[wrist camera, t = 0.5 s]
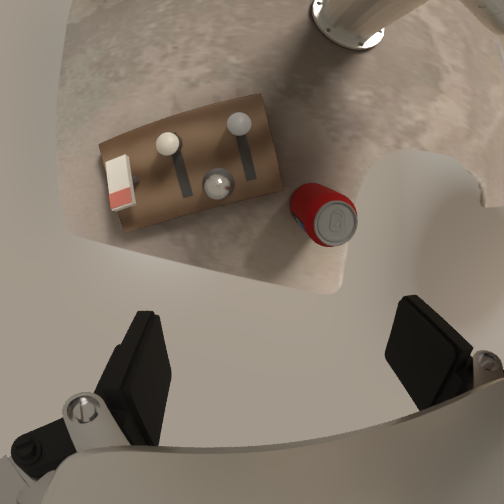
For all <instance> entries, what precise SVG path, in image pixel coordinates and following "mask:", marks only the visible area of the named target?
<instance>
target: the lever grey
mask: <svg viewBox="0 0 504 504" xmlns="http://www.w3.org/2000/svg"><path fill="white" fill-rule="evenodd" d="M227 127H228V130H229V131H230V133H231V134H233V135H235V136H243V135H245V134H246V133H247V132H248V131H249V130H250V128H251V120H250V118H249V116H248V115H246V114H245V113H241V112H238V113H234V114H232V115H231V116H230V117H229V118H228V121H227Z"/></svg>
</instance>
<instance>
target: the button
mask: <svg viewBox="0 0 504 504" xmlns="http://www.w3.org/2000/svg"><path fill="white" fill-rule="evenodd" d="M204 189H205V192H206V194H207V195H208V196H209V197H210V198H212V199H222V198H224V197H225V196H226V195H227V194H228V193H229V190H230V181H229V179H228V177H227V176H226V175H224V174H221V173H215V174H212V175H211V176H210V177H209V178H208V179H207V180H206V182H205V185H204Z"/></svg>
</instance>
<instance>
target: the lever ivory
mask: <svg viewBox="0 0 504 504" xmlns="http://www.w3.org/2000/svg"><path fill="white" fill-rule="evenodd" d="M156 148H157V150H158V152H159V153H160V154H162V155H173V154H176V153H178V152H179V151H180V150H181V148H182V139H181V138H180V137H179V136H178V135H176V134H173V133H170V132H167V133H163V134H161V135H160V136H159V137H158V139H157V141H156Z"/></svg>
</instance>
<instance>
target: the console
mask: <svg viewBox="0 0 504 504" xmlns="http://www.w3.org/2000/svg"><path fill="white" fill-rule="evenodd" d="M238 112H241V113H245V114H246V115H248V116H249V118H250V120H251V128H250V130H249V131H248V132H247V133H246V134H245V135H243V136H235V135H233V134H231V133H230V131H229V130H228V127H227V121H228V118H229V117H230V116H231V115H232V114H234V113H238ZM167 132H170V133H173V134H176V135H178V136H179V137H180V138H181V139H182V148H181V150H180V151H179V152H178V153H176V154H173V155H162V154H160V153H159V152H158V150H157V148H156V141H157V139H158V137H159V136H160V135H161V134H163V133H167ZM99 148H100V152H101V156H102V160H103V164H104V168H105V171H106V162H107V161H110V160H112V159H115V158H117V157H120V156H122V155H125V154H126V155H127V156H129V161H130V168H131V175H132V182H133V188H134V194H135V200H136V205H134V206H131V207H128V208H125V209H122V210H119V211H118V214H119V217H120V220H121V223H122V226H123V229H124V232H125V233H126V232H129V231H132V230H136V229H139V228H142V227H146V226H149V225H152V224H156V223H159V222H162V221H166V220H169V219H173V218H176V217H180V216H183V215H187V214H191V213H194V212H198V211H202V210H205V209H209V208H213V207H217V206H221V205H224V204H228V203H232V202H236V201H240V200H244V199H248V198H253V197H257V196H261V195H265V194H269V193H274V192H278V191H282V190H284V188H283V184H282V179H281V175H280V170H279V166H278V161H277V157H276V153H275V148H274V144H273V140H272V136H271V131H270V127H269V123H268V119H267V115H266V111H265V107H264V103H263V100H262V96H261V93H260V94H255V95H250V96H245V97H240V98H236V99H231V100H227V101H223V102H219V103H215V104H211V105H208V106H204V107H200V108H197V109H193V110H190V111H186V112H183V113H180V114H177V115H174V116H170V117H167V118H164V119H161V120H159V121H156V122H153V123H150V124H147V125H144V126H142V127H139V128H136V129H134V130H131V131H129V132H126V133H124V134H121V135H119V136H116V137H114V138H112V139H109V140H107V141H105V142H103V143H100V144H99ZM215 173H221V174H224V175H226V176H227V177H228V179H229V181H230V190H229V193H228V194H227V195H226V196H225V197H224V198H222V199H212V198H210V197H209V196H208V195H207V194H206V192H205V189H204V185H205V182H206V180H207V179H208V178H209V177H210V176H211V175H212V174H215ZM106 175H107V171H106Z"/></svg>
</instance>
